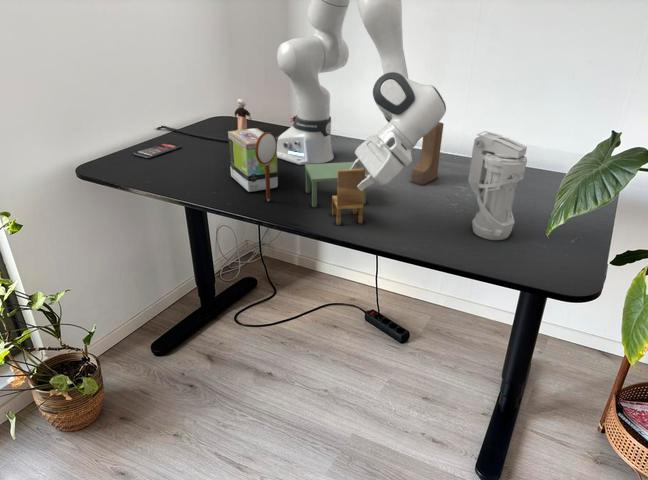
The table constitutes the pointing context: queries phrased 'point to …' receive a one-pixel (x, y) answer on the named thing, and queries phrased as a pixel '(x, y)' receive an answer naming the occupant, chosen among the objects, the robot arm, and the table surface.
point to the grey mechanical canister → (495, 183)
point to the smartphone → (156, 150)
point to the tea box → (249, 161)
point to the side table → (325, 176)
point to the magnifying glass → (266, 155)
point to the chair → (348, 193)
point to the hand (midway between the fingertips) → (354, 181)
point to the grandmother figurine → (242, 115)
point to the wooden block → (429, 156)
